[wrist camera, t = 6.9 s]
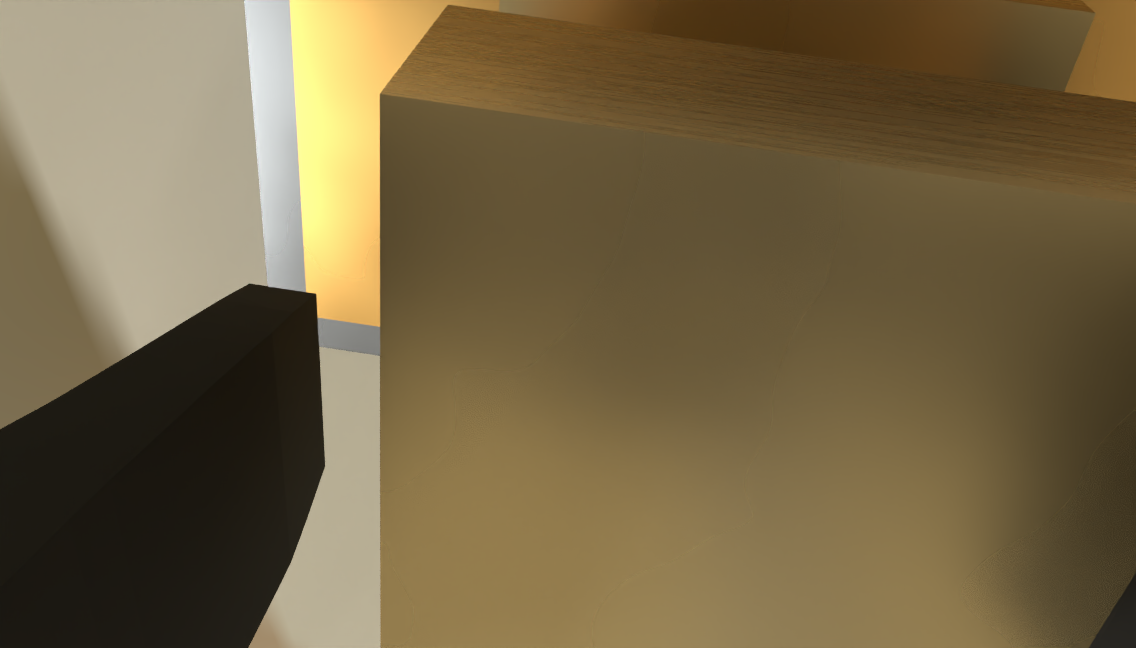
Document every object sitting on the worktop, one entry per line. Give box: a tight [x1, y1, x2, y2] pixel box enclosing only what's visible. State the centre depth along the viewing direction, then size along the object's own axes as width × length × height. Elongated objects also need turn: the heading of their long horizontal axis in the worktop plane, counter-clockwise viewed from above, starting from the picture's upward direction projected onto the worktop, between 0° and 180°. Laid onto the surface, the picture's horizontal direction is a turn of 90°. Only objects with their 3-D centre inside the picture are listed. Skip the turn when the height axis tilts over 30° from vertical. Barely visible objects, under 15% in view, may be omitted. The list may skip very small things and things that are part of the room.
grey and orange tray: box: [244, 0, 1136, 356], centre depth 8 cm, size 10×12×4 cm
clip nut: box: [380, 0, 1136, 648], centre depth 8 cm, size 5×4×5 cm
